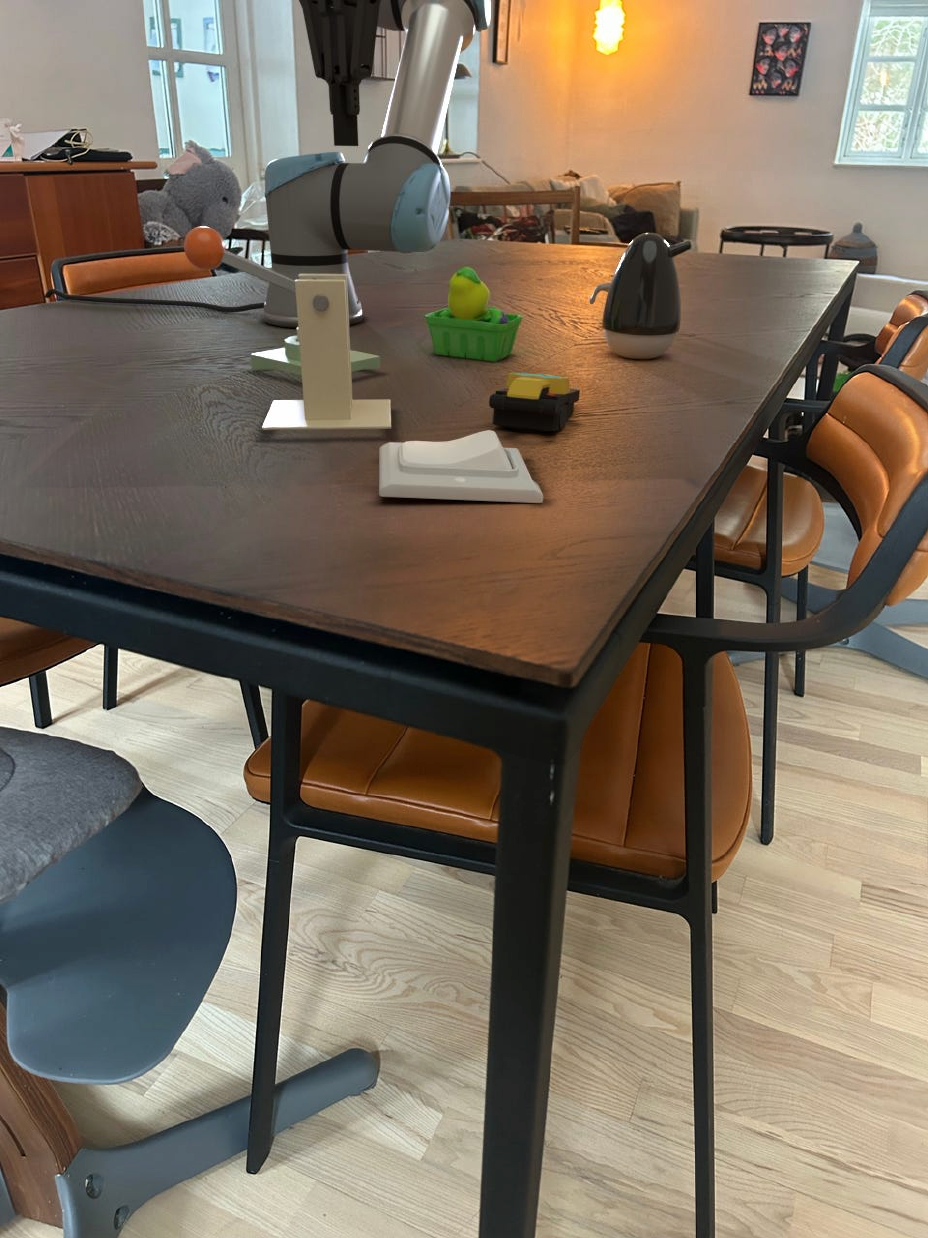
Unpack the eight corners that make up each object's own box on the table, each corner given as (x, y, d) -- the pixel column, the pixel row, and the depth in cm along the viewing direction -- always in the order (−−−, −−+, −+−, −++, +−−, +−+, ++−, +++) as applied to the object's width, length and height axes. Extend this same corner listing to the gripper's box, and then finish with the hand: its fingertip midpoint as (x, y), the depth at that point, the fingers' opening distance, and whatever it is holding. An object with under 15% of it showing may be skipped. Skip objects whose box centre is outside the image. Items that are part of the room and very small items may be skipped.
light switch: (548, 461, 67) (380, 453, 66) (542, 511, 69) (378, 505, 68) (527, 421, 77) (380, 414, 75) (522, 467, 79) (378, 460, 77)
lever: (175, 262, 77) (186, 220, 76) (183, 257, 80) (194, 217, 79) (329, 325, 81) (342, 287, 79) (331, 319, 84) (344, 282, 83)
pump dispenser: (678, 365, 113) (694, 237, 106) (597, 360, 115) (607, 234, 108) (677, 349, 122) (692, 230, 115) (602, 345, 124) (612, 228, 117)
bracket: (262, 440, 82) (247, 284, 76) (274, 412, 91) (261, 269, 84) (391, 439, 83) (387, 284, 77) (390, 411, 92) (386, 270, 85)
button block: (252, 372, 107) (248, 338, 105) (314, 359, 113) (312, 327, 112) (318, 388, 100) (315, 352, 98) (380, 374, 107) (379, 340, 105)
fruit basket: (523, 353, 118) (527, 264, 113) (498, 366, 111) (501, 271, 106) (447, 345, 123) (447, 258, 117) (418, 357, 115) (417, 265, 110)
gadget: (582, 428, 91) (588, 373, 90) (553, 444, 80) (559, 381, 78) (523, 422, 93) (527, 368, 91) (485, 436, 81) (490, 374, 79)
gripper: (271, -93, 99) (288, 144, 110) (351, -111, 92) (360, 146, 103) (322, -81, 104) (333, 145, 115) (401, -97, 97) (405, 146, 108)
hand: (346, 145), depth 109 cm, fingers closed
